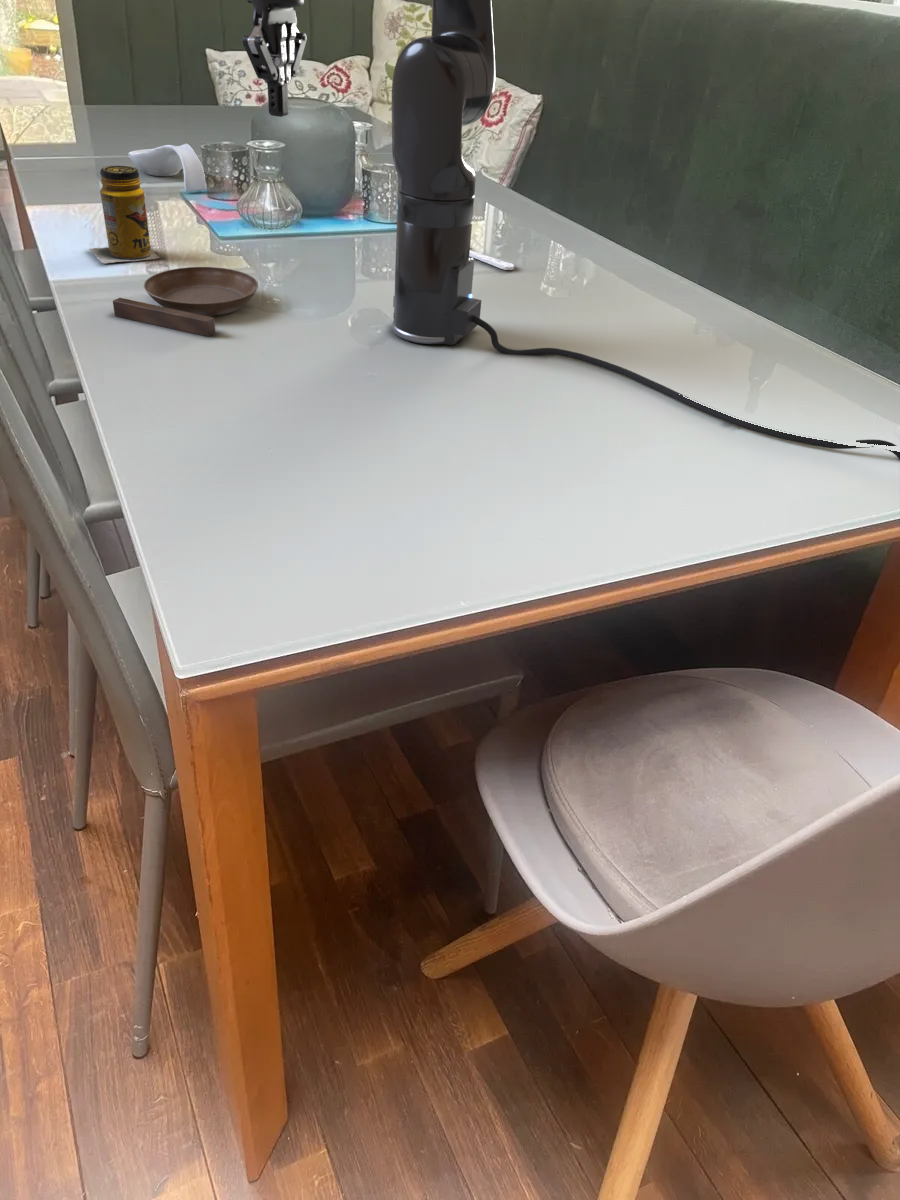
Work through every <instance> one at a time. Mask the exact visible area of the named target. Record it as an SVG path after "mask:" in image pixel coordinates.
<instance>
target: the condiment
mask: <svg viewBox="0 0 900 1200" xmlns="http://www.w3.org/2000/svg"><path fill="white" fill-rule="evenodd" d="M99 174H100V178H101V180H100V183H101V186H102V187H101V188H100V191H99V192H100V200H101V207H102V211H103V212H102V214H103V218H104V227H105V231H106V237H107V239H106V240H107V245H108V246H107V247H100V248H99V247H92V248H88V250H89V251H90V253H91V254H92V255H94V257H95V258H96V260H98V261H100V262H101V264H113V263H122V262H137V261H149V260H156V259H160V258H161V256H159V255H157V254H156V253H155V252H154V251H152V249H151V241H150V231H149V222H148V215H147V208H146V200H145V199H146V197H145V192H144V190H143V189H142V187H141V186H140V185H141V182H140V172H139V170H138V169H137V168H136V167H133V166H128V165H119V164H118V165H108V166H104V167H102V168H101V169H100V171H99Z"/></svg>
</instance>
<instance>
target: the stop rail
mask: <svg viewBox="0 0 900 1200" xmlns="http://www.w3.org/2000/svg"><path fill="white" fill-rule="evenodd" d="M112 306H113V313H114V316H115V317H118V318H122V319H127V320H132V321H137V322H140V323H145V324H150V325H154V326H159V327H164V328H168V329H173V330H177V331H182V332H186V333H189V334H194V335H198V336H205V337H211V336H213V335H215V334H216V325H215V323H216V322H215V317H213V316H203V315H198V314H194V313H189V312H185V311H180V310H175V309H171V308H166V307H162V306H161V305H156V304H151V303H147V302H143V301H137V300H133V299H129V298H124V297H118V298H116V299H113V300H112Z"/></svg>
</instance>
